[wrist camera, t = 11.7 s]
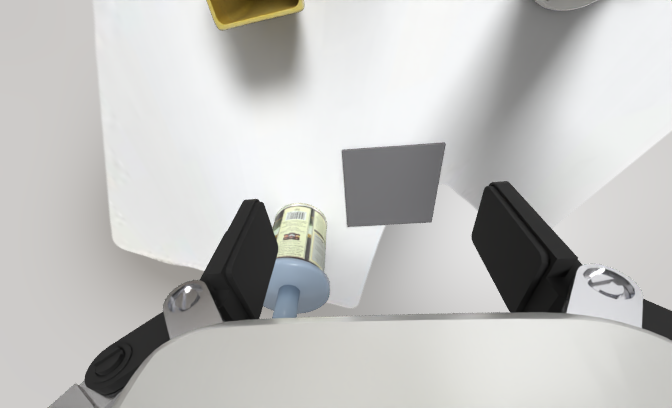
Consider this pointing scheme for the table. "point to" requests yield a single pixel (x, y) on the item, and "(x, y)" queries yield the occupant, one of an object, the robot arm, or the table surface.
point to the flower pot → (250, 11)
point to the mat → (392, 183)
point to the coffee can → (301, 233)
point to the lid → (296, 288)
